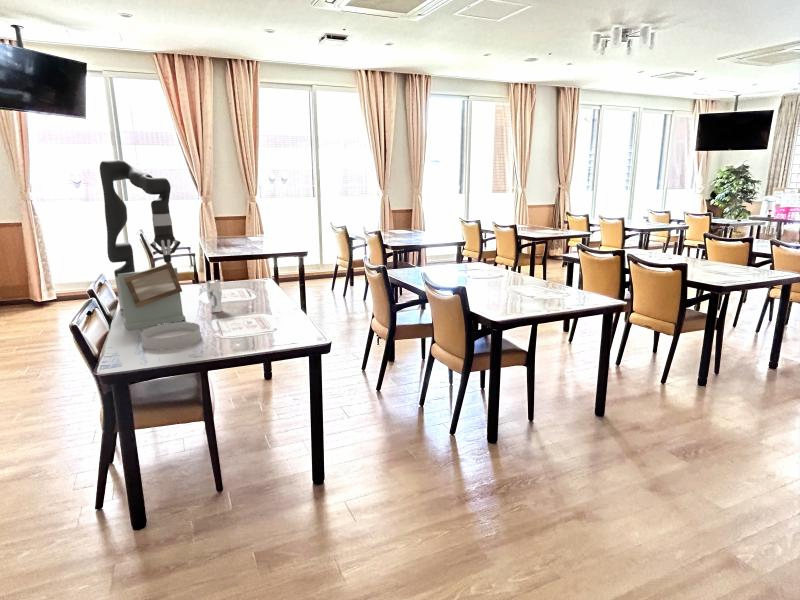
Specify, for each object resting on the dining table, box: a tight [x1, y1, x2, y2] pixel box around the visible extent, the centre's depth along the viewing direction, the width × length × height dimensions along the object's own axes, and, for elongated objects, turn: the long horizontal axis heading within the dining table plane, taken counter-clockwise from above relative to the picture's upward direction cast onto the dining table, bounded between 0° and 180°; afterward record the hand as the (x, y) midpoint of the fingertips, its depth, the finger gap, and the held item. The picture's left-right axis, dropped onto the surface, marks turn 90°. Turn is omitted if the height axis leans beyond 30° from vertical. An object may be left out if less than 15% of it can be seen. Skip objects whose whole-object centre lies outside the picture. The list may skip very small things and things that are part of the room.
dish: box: [140, 321, 202, 350], centre depth 207 cm, size 22×22×5 cm
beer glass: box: [205, 279, 224, 314], centre depth 250 cm, size 7×7×15 cm
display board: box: [118, 266, 187, 331], centre depth 232 cm, size 12×24×24 cm, turn 124°
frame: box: [124, 261, 183, 308], centre depth 228 cm, size 2×20×14 cm, turn 124°
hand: (167, 263), depth 230 cm, fingers closed
